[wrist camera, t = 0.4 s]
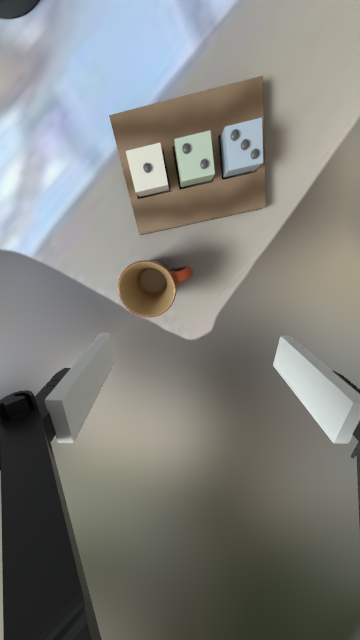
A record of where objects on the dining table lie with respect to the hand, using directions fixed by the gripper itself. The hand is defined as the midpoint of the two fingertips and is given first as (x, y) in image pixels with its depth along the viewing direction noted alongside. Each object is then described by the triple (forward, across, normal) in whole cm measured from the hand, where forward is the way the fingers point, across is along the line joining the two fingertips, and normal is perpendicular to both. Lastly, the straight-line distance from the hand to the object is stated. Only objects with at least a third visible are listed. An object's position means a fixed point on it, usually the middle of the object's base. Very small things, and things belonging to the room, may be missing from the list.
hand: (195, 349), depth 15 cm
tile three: (+24, +8, +20) cm, 33 cm away
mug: (+26, -4, +1) cm, 27 cm away
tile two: (+24, +1, +19) cm, 31 cm away
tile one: (+24, -6, +17) cm, 30 cm away
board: (+26, +1, +19) cm, 32 cm away
